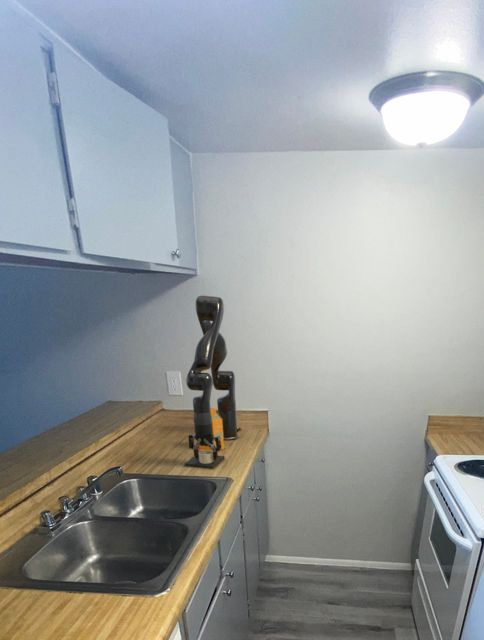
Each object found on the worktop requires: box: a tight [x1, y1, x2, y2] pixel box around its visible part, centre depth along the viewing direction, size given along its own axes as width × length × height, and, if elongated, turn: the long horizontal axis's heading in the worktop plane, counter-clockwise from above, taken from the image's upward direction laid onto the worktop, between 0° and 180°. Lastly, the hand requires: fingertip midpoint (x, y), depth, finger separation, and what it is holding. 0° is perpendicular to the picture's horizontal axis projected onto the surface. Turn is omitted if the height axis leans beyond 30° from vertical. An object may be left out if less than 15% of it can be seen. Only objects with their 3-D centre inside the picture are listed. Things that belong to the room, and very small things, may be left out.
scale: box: [184, 455, 226, 470], centre depth 211 cm, size 14×13×3 cm
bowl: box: [198, 450, 214, 464], centre depth 206 cm, size 6×6×4 cm
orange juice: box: [199, 407, 225, 452], centre depth 224 cm, size 8×9×20 cm
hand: (206, 458), depth 207 cm, fingers open, 8 cm apart
